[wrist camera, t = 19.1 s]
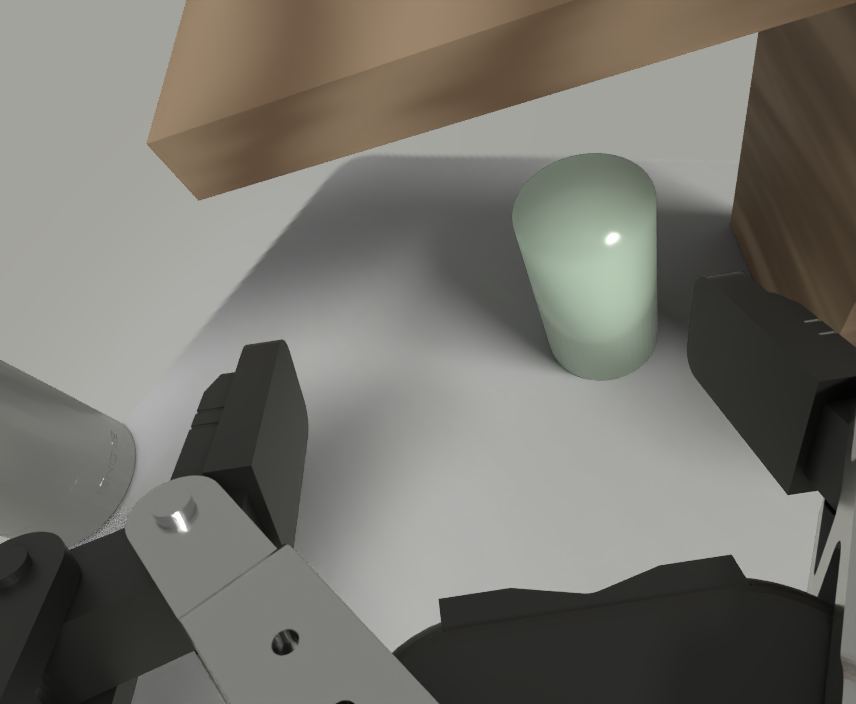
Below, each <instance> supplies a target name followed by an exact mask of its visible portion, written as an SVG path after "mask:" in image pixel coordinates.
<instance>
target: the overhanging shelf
mask: <svg viewBox="0 0 856 704" xmlns="http://www.w3.org/2000/svg"><path fill="white" fill-rule="evenodd" d="M756 32H759V33H758V39H757V46H756V53H755V60H754V66H753V74H752V80H751V87H750V94H749V101H748V107H747V114H746V121H745V128H744V135H743V141H742V149H741V155H740V162H739V169H738V176H737V182H736V189H735V196H734V203H733V210H732V217H731V226H732V228H733V231H734V233H735V236H736V238H737V241H738V243H739V246H740V248H741V251H742V253H743V256H744V258H745V261H746V263H747V266H748V269H749V271H750V274H751V276H752V279H753V280H754V281H755V282H757V283H758V284H759V285H760V286H761V287H763V288H764V289H765V290H766V291H767V292H769V293H770V292H774V293H776V294H779V295H781V296H783V297H786V298H788V299H791V300H793V301H796V302H798V303H800V304H801V305H803V306H804V307H805V308H807V309H808V310H809V311H810V312H812V313H813V314H814V315H815V316H817V317H818V320H819V321H823V322H824V323H826V324H827V325H828V326H829V327H831V328H832V329H833V330H834V333H835V334H836V333H838V334H840V335H841V336H842V337H843V338H845V339H846V340H847V341H848V342H850V343H851V344H852V345H854V346H855V347H856V0H186V3H185V7H184V11H183V14H182V18H181V21H180V25H179V29H178V32H177V36H176V39H175V43H174V47H173V50H172V54H171V57H170V61H169V65H168V68H167V72H166V76H165V79H164V83H163V86H162V90H161V94H160V97H159V101H158V104H157V108H156V112H155V115H154V119H153V123H152V126H151V130H150V133H149V137H148V141H147V145H148V146H149V147H150V148H151V149H152V150H153V151H154V153H155V154H156V155H157V156H158V157H159V158H160V159H161V160H162V161H163V162H164V163H165V165H166V166H167V167H168V168H169V169H170V170H171V171H172V172H173V173H174V174H175V175H176V177H177V178H178V179H179V180H180V181H181V182H182V183H183V184H184V185H185V186H186V187H187V189H188V190H189V191H190V192H191V193H192V194H193V195H194V196H195V197H196V198H197V199H198V200H202V199H205V198H209V197H212V196H215V195H218V194H222V193H225V192H228V191H232V190H235V189H238V188H242V187H245V186H248V185H252V184H255V183H258V182H262V181H265V180H268V179H272V178H275V177H278V176H282V175H285V174H288V173H291V172H295V171H298V170H302V169H305V168H308V167H312V166H315V165H318V164H322V163H324V162H328V161H331V160H335V159H338V158H341V157H345V156H348V155H351V154H355V153H358V152H361V151H364V150H368V149H371V148H374V147H378V146H381V145H385V144H388V143H391V142H395V141H398V140H401V139H405V138H408V137H411V136H414V135H418V134H421V133H424V132H428V131H431V130H434V129H438V128H441V127H444V126H447V125H450V124H454V123H457V122H461V121H464V120H468V119H471V118H474V117H478V116H481V115H484V114H487V113H491V112H494V111H497V110H501V109H504V108H507V107H511V106H514V105H517V104H521V103H524V102H527V101H531V100H534V99H537V98H540V97H543V96H547V95H551V94H553V93H557V92H560V91H564V90H567V89H570V88H574V87H577V86H580V85H583V84H587V83H590V82H594V81H597V80H600V79H603V78H607V77H610V76H614V75H617V74H620V73H623V72H627V71H630V70H633V69H637V68H640V67H643V66H646V65H650V64H653V63H657V62H660V61H663V60H667V59H670V58H673V57H677V56H680V55H683V54H687V53H690V52H693V51H697V50H699V49H703V48H706V47H710V46H713V45H716V44H720V43H723V42H726V41H730V40H733V39H736V38H740V37H743V36H746V35H750V34H753V33H756Z"/></svg>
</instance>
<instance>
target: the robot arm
mask: <svg viewBox="0 0 856 704" xmlns="http://www.w3.org/2000/svg"><path fill="white" fill-rule="evenodd" d="M687 356H688V362H689V366H690V369H691V371H692V373H693V375H694V377H695V378H696V379H697V381H698V382H699V383H700V384H701V386H702V387H703V388H704V389H705V391H706V392H707V393H708V395H709V396H710V397H711V398H712V400H713V401H714V402H715V403H716V405H717V406H718V407H719V408H720V410H721V411H722V412H723V414H724V415H725V416H726V417H727V419H728V420H729V421H730V422H731V424H732V425H733V426H734V428H735V429H736V430H737V431H738V433H739V434H740V435H741V436H742V438H743V439H744V440H745V441H746V443H747V444H748V445H749V447H750V448H751V449H752V450H753V452H754V453H755V454H756V455H757V457H758V458H759V459H760V460H761V462H762V463H763V464H764V466H765V467H766V468H767V469H768V471H769V472H770V473H771V474H772V476H773V477H774V478H775V479H776V481H777V482H778V483H779V485H780V486H781V487H782V488H783V490H784V491H785V492H786V493H787V495H792V494H798V493H805V492H811V491H819V492H820V494H821V495H822V496H823V497H824V498H823V501H822V505H821V508H820V511H819V515H818V522H817V529H816V535H815V542H814V548H813V555H812V562H811V568H810V575H809V581H808V588H807V592H804V591H801V590H798V589H796V588H793V587H789V586H785V585H782V584H778V583H774V582H769V581H764V580H758V579H752V578H746V577H745V576H744V574H743V572H742V571H741V569H740V567H739V566H738V564H737V563H736V561H735V559H734V558H733V556H732V555H726V556H719V557H713V558H706V559H700V560H693V561H686V562H680V563H673V564H666V565H660V566H657V567H655V568H653V569H650V570H648V571H646V572H643V573H641V574H638V575H636V576H634V577H631V578H629V579H627V580H624V581H622V582H619V583H617V584H615V585H612V586H610V587H608V588H605V589H603V590H600V591H598V592H595V593H589V594H581V593H568V592H555V591H542V590H529V589H516V588H508V589H501V590H495V591H488V592H482V593H475V594H468V595H462V596H455V597H449V598H442V599H439V606H440V615H441V623H438V624H436V625H434V626H431V627H429V628H427V629H425V630H423V631H422V632H420V633H418V634H416V635H415V636H413V637H411V638H410V639H409V640H407V641H406V642H405V643H403V644H402V645H401V646H399V647H398V648H397V649H396V650H395V651H394V652H393V653H391V652H390V651H389V650H388V649H387V648H386V647H385V646H384V644H383V643H382V642H381V641H380V640H379V639H378V638H377V637H376V636H375V635H374V634H373V633H372V632H371V631H370V630H369V628H368V627H367V626H366V625H365V624H364V623H363V622H362V621H361V620H360V619H359V618H358V617H357V616H356V615H355V614H354V613H353V611H352V610H351V609H350V608H349V607H348V606H347V605H346V604H345V603H344V602H343V601H342V600H341V599H340V598H339V597H338V595H337V594H336V593H335V592H334V591H333V590H332V589H331V588H330V587H329V586H328V585H327V584H326V583H325V582H324V581H323V579H322V578H321V577H320V576H319V575H318V574H317V573H316V572H315V571H314V570H313V569H312V568H311V567H310V566H309V565H308V563H307V562H306V561H305V560H304V559H303V558H302V557H301V556H300V555H299V554H298V553H297V552H296V551H295V550H294V549H293V548H294V540H295V532H296V525H297V517H298V509H299V501H300V494H301V486H302V478H303V470H304V463H305V455H306V447H307V440H308V417H307V410H306V405H305V402H304V398H303V395H302V391H301V388H300V385H299V381H298V378H297V375H296V371H295V368H294V364H293V361H292V358H291V354H290V351H289V348H288V346H287V344H286V342H285V341H284V340H276V341H270V342H263V343H256V344H250V345H245V346H244V348H243V350H242V353H241V356H240V359H239V362H238V365H237V368H236V371H235V372H234V373H227V374H221V375H220V376H219V377H218V378H217V379H216V380H215V381H214V382H213V383H212V384H211V385H210V387H209V388H208V389H207V390H206V391H205V392H204V394H203V396H202V399H201V402H200V404H199V407H198V409H197V413H198V414H196V415H195V417H194V420H193V422H192V425H191V427H192V430H189V433H188V435H187V438H186V441H185V443H184V446H183V448H182V451H181V454H180V456H179V459H178V461H177V464H176V467H175V469H174V472H173V474H172V477H171V480H170V481H168V482H166V483H164V484H162V485H160V486H158V487H156V488H155V489H153V490H151V491H150V492H149V493H147V494H146V495H145V496H144V497H142V498H141V499H140V500H139V501H138V502H137V503H136V505H135V506H134V507H133V508H132V510H131V512H130V513H129V515H128V518H127V520H126V524H125V528H123V529H121V530H119V531H116V532H114V533H112V534H109V535H107V536H104V537H101V538H99V539H96V540H94V541H91V542H89V543H86V544H83V545H81V546H78V547H76V548H73V549H71V550H69V549H68V548H67V547H68V546H71V545H73V544H76V543H78V542H80V541H82V540H84V539H85V538H87V537H89V536H90V535H92V534H93V533H94V532H95V531H96V530H98V529H99V528H100V527H101V526H102V525H103V524H104V523H105V522H106V521H107V520H108V519H109V517H110V516H111V515H112V514H113V513H114V512H115V510H116V509H117V507H118V505H119V504H120V502H121V501H122V499H123V498H124V495H125V493H126V491H127V489H128V487H129V485H130V482H131V478H132V475H133V472H134V466H135V457H136V456H135V444H134V441H133V438H132V435H131V434H130V432H129V431H128V429H127V428H126V427H125V426H124V425H123V424H121V423H120V422H118V421H117V420H115V419H113V418H111V417H109V416H107V415H105V414H103V413H101V412H99V411H98V410H96V409H94V408H91V407H90V406H88V405H86V404H84V403H82V402H80V401H78V400H77V399H75V398H73V397H71V396H69V395H67V394H65V393H63V392H62V391H59V390H58V389H56V388H53V387H52V386H50V385H48V384H46V383H44V382H42V381H40V380H38V379H36V378H34V377H33V376H31V375H29V374H27V373H24V372H23V371H21V370H19V369H17V368H15V367H13V366H11V365H9V364H7V363H5V362H4V361H2V360H0V536H3V537H7V538H11V539H10V540H7V541H5V542H3V543H1V544H0V704H131V701H132V698H133V694H134V690H135V686H136V683H137V679H138V676H140V675H142V674H144V673H146V672H148V671H151V670H153V669H155V668H157V667H159V666H161V665H164V664H166V663H168V662H170V661H172V660H175V659H177V658H179V657H181V656H183V655H185V654H188V653H190V652H192V651H194V652H195V654H196V656H197V657H198V659H199V661H200V662H201V664H202V665H203V667H204V669H205V670H206V672H207V674H208V675H209V677H210V679H211V680H212V682H213V683H214V685H215V687H216V688H217V690H218V692H219V693H220V695H221V696H222V698H223V700H224V701H225V703H226V704H856V347H855V346H854V345H852V344H851V343H850V342H848V341H847V340H846V339H845V338H843V337H842V336H841V335H840V334H838V333H836V334H835V333H834V330H833V329H832V328H831V327H829V326H828V325H827V324H826V323H824V322H823V321H819V320H818V317H817V316H815V315H814V314H813V313H812V312H810V311H809V310H808V309H807V308H805V307H804V306H803V305H801V304H800V303H798V302H796V301H793V300H791V299H788V298H786V297H783V296H781V295H779V294H776V293H774V292H770V293H769V292H767V291H766V290H765V289H764V288H763V287H761V286H760V285H759V284H758V283H757V282H755V281H754V280H753V279H752V278H750V277H749V276H748V275H747V274H745V273H744V272H733V273H726V274H720V275H713V276H707V277H701V278H700V279H698V281H697V282H696V284H695V288H694V294H693V302H692V310H691V318H690V326H689V334H688V343H687Z"/></svg>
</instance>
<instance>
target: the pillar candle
mask: <svg viewBox="0 0 856 704" xmlns="http://www.w3.org/2000/svg"><path fill="white" fill-rule="evenodd" d="M512 223H513V228H514V231H515V234H516V238H517V241H518V244H519V247H520V251H521V254H522V257H523V260H524V263H525V267H526V270H527V273H528V276H529V280H530V283H531V286H532V289H533V292H534V296H535V299H536V302H537V305H538V309H539V312H540V315H541V318H542V321H543V325H544V328H545V331H546V334H547V338H548V341H549V344H550V347H551V350H552V353H553V355H554V357H555V358H556V360H557V361H558V362H559V364H560V365H561V366H562V367H564V368H565V369H566V370H567V371H569V372H570V373H572V374H574V375H576V376H579V377H581V378H585V379H589V380H597V381H602V380H612V379H617V378H620V377H623V376H626V375H628V374H630V373H632V372H634V371H635V370H637V369H638V368H639V367H640V366H642V365H643V364H644V363H645V362H646V361H647V359H648V358H649V357H650V355H651V354H652V352H653V350H654V348H655V345H656V342H657V228H656V192H655V187H654V185H653V182H652V180H651V179H650V177H649V176H648V174H647V173H646V172H645V171H644V170H643V169H642V168H641V167H639V166H638V165H637V164H635V163H633V162H632V161H630V160H628V159H625V158H623V157H619V156H616V155H611V154H602V153H588V154H580V155H575V156H571V157H567V158H564V159H561V160H559V161H557V162H554V163H552V164H550V165H548V166H547V167H545V168H543V169H542V170H540V171H539V172H538V173H536V174H535V175H534V176H533V177H532V178H531V179H530V180H529V181H528V182H527V183H526V184H525V185H524V186H523V188H522V189H521V191H520V192H519V194H518V195H517V198H516V200H515V202H514V206H513V211H512Z"/></svg>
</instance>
